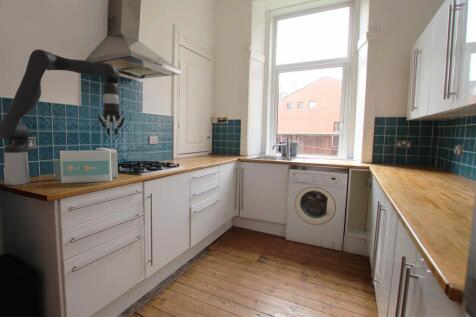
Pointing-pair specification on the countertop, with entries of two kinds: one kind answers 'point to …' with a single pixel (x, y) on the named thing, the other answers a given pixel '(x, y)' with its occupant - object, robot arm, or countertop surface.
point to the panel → (101, 169)
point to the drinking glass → (57, 169)
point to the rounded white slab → (112, 161)
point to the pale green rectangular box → (84, 157)
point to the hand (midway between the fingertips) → (112, 135)
